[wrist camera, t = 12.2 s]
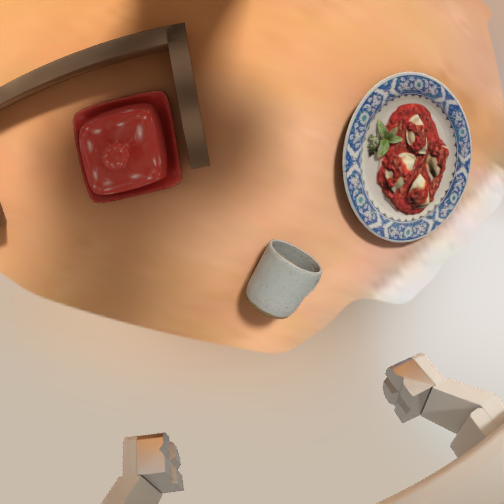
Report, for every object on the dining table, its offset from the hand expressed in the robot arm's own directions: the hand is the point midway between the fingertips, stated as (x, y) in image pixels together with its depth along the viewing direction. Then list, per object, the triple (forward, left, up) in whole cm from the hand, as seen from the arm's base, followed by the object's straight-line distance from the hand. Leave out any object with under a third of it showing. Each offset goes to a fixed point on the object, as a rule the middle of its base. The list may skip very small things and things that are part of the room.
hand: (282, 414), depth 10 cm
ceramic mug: (+14, +8, -31) cm, 35 cm away
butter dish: (-7, -8, -32) cm, 33 cm away
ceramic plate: (+1, +30, -32) cm, 44 cm away
